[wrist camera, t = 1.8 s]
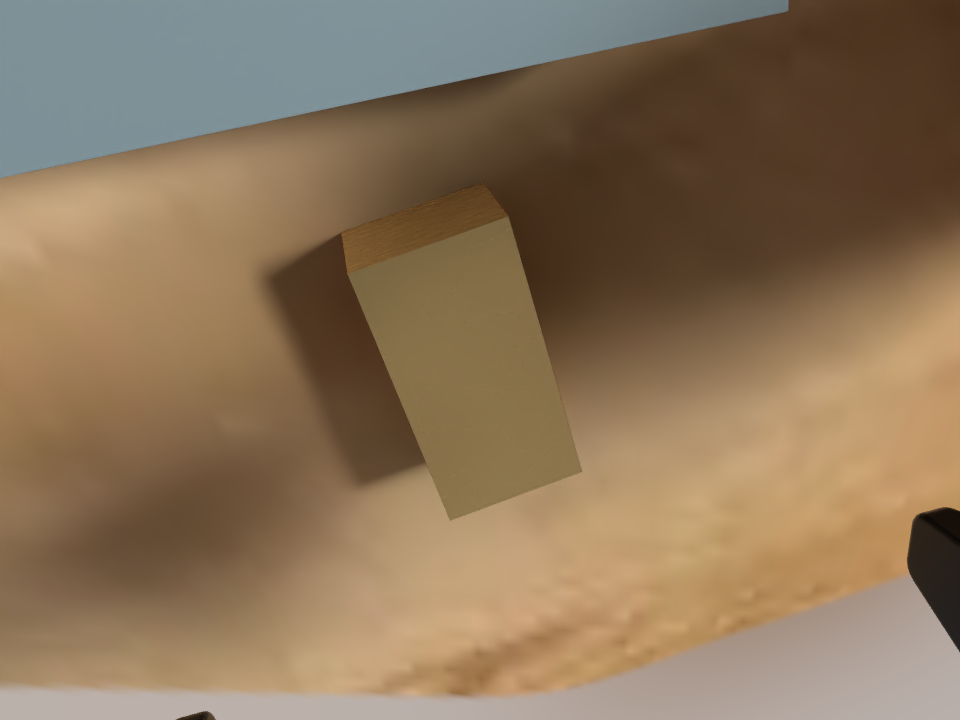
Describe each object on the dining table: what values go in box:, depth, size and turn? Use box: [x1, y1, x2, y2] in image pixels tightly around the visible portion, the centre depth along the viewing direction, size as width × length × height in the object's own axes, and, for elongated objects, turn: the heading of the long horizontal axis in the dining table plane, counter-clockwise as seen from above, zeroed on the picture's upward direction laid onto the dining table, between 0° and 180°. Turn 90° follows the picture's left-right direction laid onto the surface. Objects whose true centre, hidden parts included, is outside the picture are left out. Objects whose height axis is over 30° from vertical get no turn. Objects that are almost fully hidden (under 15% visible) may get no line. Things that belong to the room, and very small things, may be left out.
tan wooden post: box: [341, 182, 582, 520], centre depth 16 cm, size 3×6×2 cm, turn 17°
